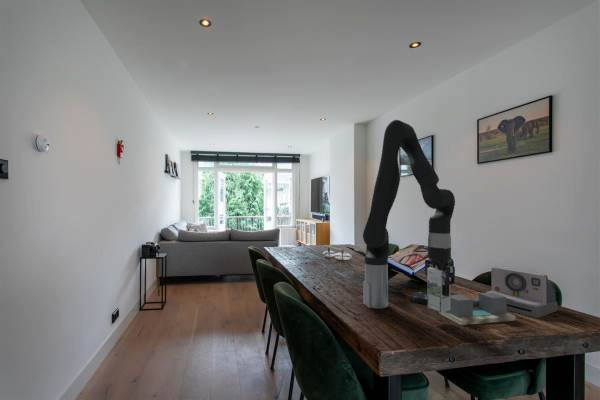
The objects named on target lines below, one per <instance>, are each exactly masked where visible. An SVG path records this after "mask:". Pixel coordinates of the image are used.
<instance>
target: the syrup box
mask: <svg viewBox="0 0 600 400" xmlns="http://www.w3.org/2000/svg"><path fill="white" fill-rule="evenodd" d="M442 275H446V273H445V271H444V272H443V271H442V270H436V268H431V267H429V268H427V276H426V277H427V278H426V280H427V282H426V284H427V285H426V290H427V291H426V293H427V305H426V308H427V309H428V310H432V311H435V312H438V313H439V312H441V313H442V312H446V311H449V310H450V308H451V307H450V295H451V289H450V290H449V292H450V293H449V296H443V295H442V285H443V284H442V278H441V276H442ZM444 279H445V278H444ZM445 281H446V279H445ZM450 281H451V277H450Z"/></svg>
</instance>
